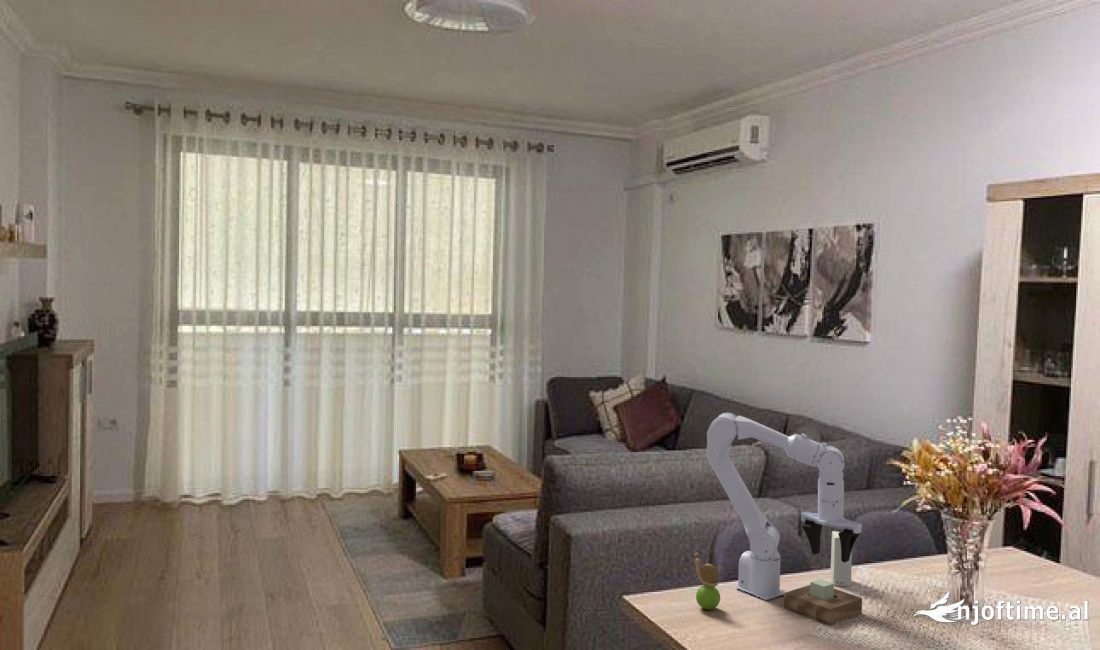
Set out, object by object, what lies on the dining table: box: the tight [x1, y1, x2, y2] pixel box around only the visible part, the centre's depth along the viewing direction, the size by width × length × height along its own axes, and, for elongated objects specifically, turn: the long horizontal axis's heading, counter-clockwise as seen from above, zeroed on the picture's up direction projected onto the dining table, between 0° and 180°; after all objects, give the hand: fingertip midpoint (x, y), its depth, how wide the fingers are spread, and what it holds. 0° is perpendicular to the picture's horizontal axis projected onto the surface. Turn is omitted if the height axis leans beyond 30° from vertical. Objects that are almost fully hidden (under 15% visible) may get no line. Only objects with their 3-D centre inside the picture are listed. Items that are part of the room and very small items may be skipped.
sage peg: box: [809, 578, 835, 601], centre depth 185 cm, size 4×4×6 cm
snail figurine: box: [694, 552, 721, 611], centre depth 186 cm, size 5×6×12 cm
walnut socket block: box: [783, 584, 863, 626], centre depth 185 cm, size 12×12×4 cm
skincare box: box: [830, 530, 853, 587], centre depth 204 cm, size 6×4×12 cm
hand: (830, 557), depth 191 cm, fingers open, 7 cm apart
